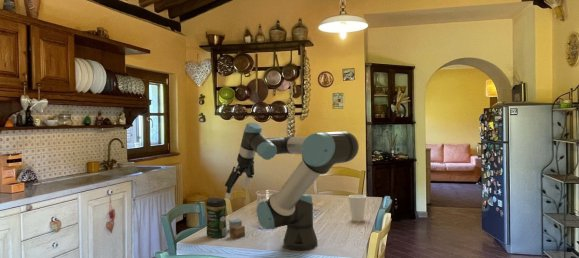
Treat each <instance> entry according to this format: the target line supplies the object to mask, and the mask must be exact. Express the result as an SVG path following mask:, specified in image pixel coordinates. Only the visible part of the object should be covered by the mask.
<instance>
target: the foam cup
mask: <svg viewBox="0 0 579 258" xmlns="http://www.w3.org/2000/svg"><path fill="white" fill-rule="evenodd" d="M348 201H349V203H348V204H349V210H350V216H351V220H352V221H353V222H363V221H364V219H365V211H366V202H367V196H366V195H363V194H349V195H348Z"/></svg>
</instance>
